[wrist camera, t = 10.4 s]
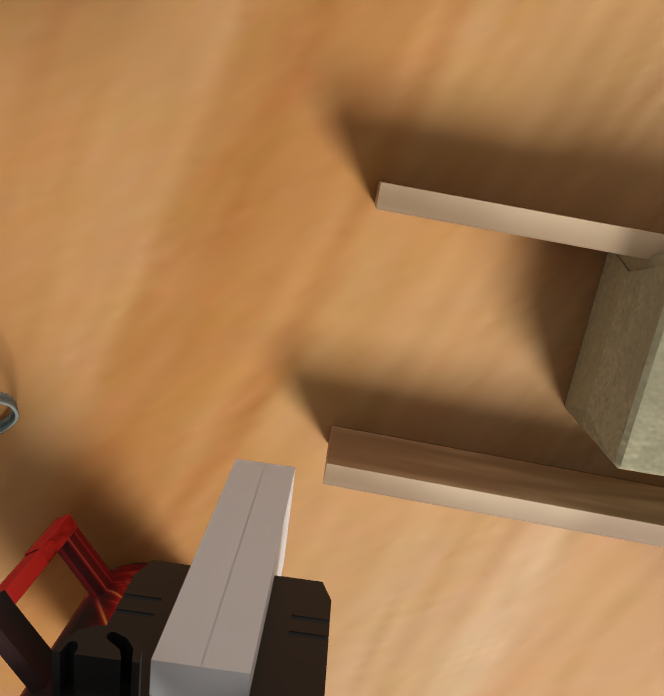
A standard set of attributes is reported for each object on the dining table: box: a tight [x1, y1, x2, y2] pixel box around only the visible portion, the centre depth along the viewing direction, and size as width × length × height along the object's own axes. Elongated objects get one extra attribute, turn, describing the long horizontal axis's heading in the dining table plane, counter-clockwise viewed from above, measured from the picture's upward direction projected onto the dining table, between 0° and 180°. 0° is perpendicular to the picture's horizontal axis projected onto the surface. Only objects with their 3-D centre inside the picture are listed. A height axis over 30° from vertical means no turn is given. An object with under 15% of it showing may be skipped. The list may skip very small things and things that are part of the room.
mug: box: [0, 514, 149, 696], centre depth 36 cm, size 10×14×12 cm
